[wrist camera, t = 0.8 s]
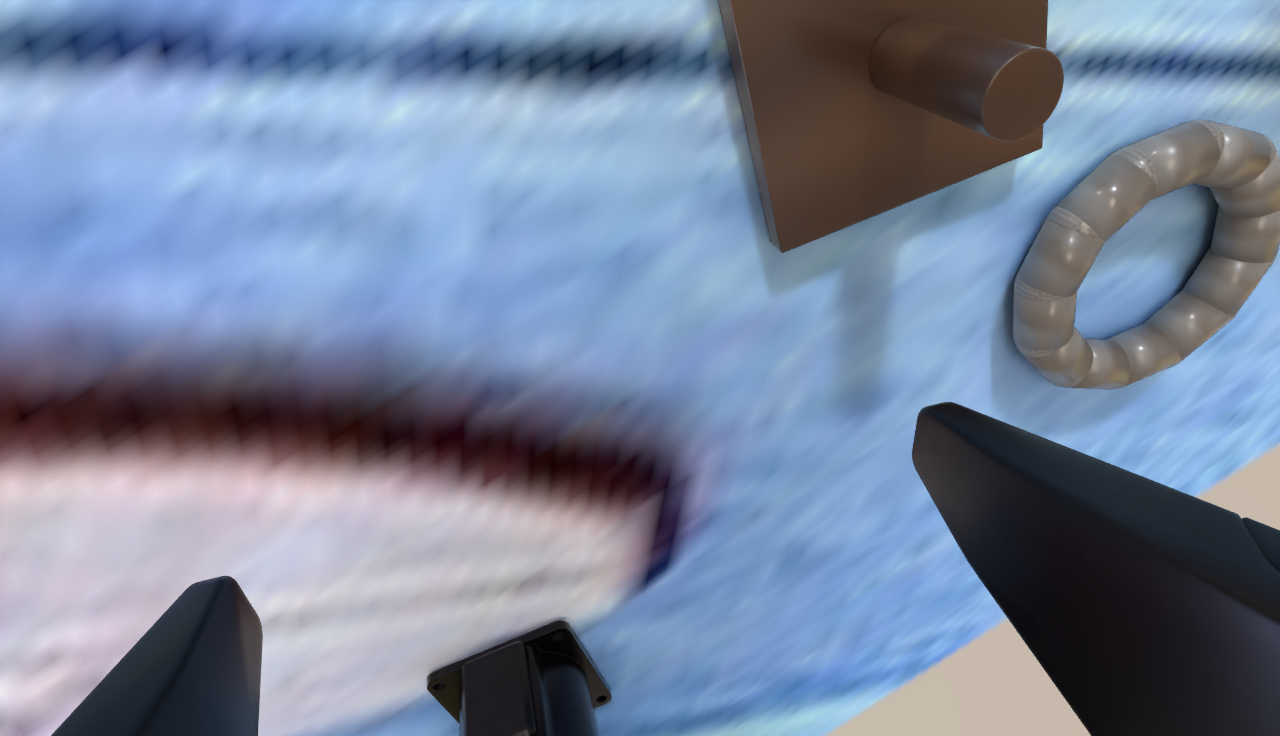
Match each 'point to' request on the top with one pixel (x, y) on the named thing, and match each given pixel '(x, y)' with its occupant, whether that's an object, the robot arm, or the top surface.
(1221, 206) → the grey-brown segmented ring
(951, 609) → the top surface
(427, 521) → the top surface
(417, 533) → the top surface
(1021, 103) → the tape stand
